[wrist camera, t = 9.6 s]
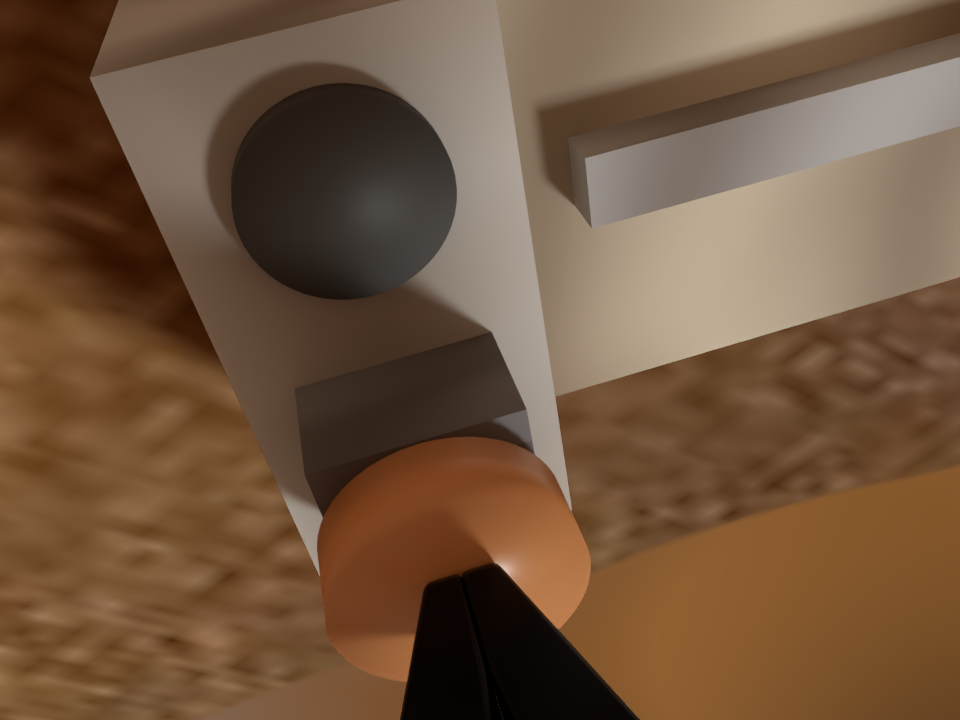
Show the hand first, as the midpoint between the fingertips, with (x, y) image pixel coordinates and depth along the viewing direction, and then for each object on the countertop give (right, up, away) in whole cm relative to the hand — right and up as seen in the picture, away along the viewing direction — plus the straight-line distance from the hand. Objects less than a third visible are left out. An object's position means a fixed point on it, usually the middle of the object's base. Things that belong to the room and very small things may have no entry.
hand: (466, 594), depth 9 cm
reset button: (-1, +2, +2) cm, 3 cm away
